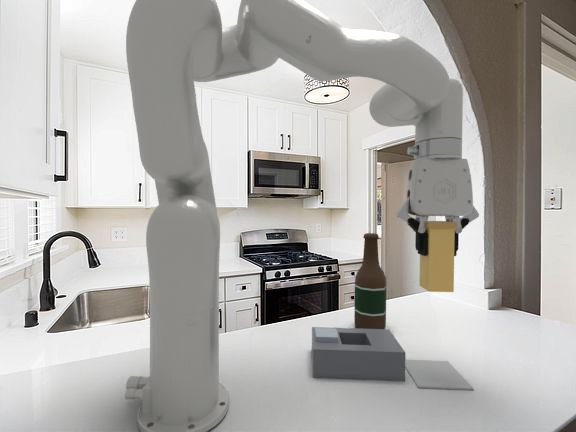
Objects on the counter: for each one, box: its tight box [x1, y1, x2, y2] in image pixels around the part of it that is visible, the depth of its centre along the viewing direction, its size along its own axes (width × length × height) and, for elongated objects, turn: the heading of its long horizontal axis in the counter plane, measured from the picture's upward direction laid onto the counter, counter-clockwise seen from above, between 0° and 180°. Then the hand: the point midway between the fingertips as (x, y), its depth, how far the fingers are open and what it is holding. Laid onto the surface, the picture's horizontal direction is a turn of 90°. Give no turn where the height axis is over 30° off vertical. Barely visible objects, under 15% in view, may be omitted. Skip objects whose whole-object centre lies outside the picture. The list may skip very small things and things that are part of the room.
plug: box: [419, 220, 457, 293], centre depth 53 cm, size 5×5×12 cm
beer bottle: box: [353, 232, 387, 329], centre depth 74 cm, size 8×8×24 cm
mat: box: [405, 359, 475, 391], centre depth 53 cm, size 9×9×1 cm
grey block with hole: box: [311, 326, 406, 382], centre depth 57 cm, size 16×10×6 cm, turn 87°
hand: (436, 253), depth 53 cm, fingers closed on plug, 4 cm apart
